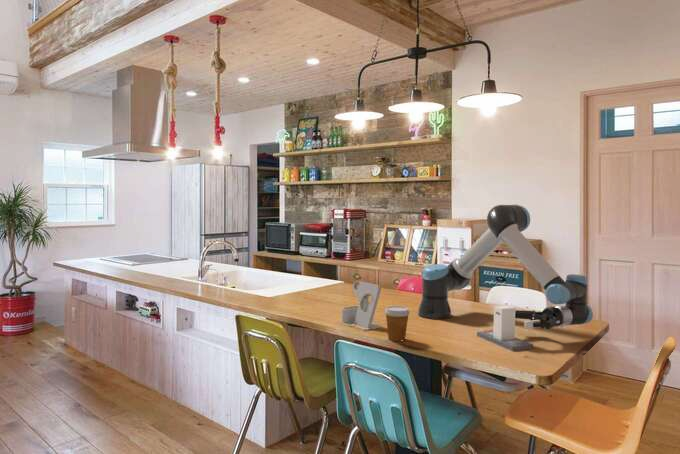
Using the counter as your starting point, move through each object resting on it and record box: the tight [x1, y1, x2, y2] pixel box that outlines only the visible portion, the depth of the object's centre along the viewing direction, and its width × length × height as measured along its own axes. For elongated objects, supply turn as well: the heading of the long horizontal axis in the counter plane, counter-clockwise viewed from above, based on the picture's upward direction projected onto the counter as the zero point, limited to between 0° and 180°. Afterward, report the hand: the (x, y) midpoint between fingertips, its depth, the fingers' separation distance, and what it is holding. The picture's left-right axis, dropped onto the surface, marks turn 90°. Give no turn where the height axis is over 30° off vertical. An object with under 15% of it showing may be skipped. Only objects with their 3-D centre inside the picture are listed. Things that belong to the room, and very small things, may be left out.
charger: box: [493, 304, 516, 341], centre depth 179 cm, size 4×6×13 cm
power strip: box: [476, 328, 534, 352], centre depth 179 cm, size 20×9×4 cm, turn 20°
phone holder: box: [340, 280, 382, 331], centre depth 207 cm, size 17×10×18 cm, turn 38°
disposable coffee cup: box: [384, 305, 410, 342], centre depth 186 cm, size 10×10×12 cm
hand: (511, 320), depth 179 cm, fingers open, 13 cm apart
